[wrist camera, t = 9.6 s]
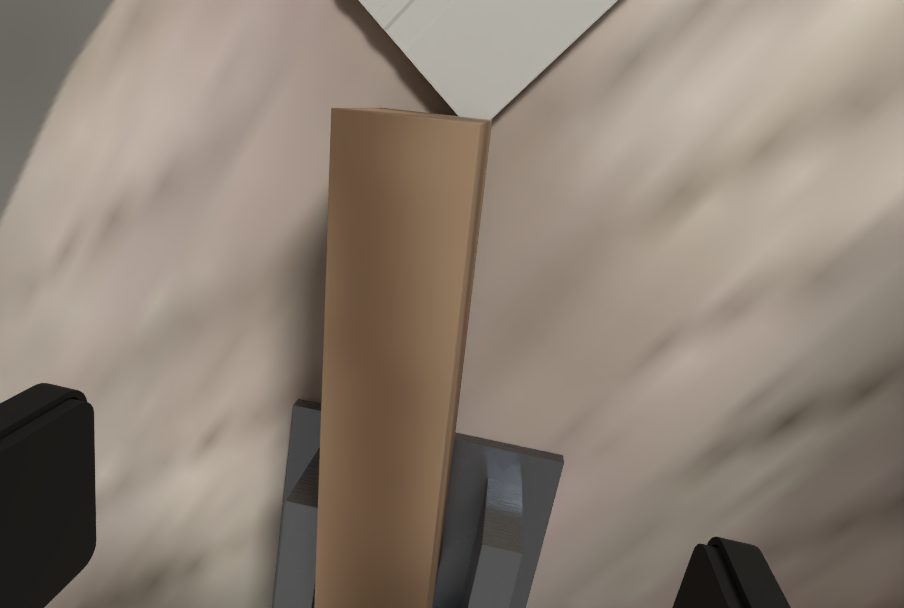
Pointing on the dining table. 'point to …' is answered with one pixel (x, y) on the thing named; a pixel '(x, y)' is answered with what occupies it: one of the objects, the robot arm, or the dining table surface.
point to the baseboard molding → (484, 43)
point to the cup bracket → (465, 529)
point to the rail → (393, 347)
